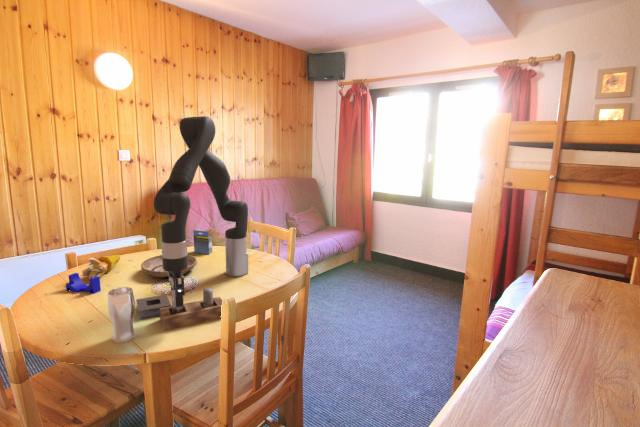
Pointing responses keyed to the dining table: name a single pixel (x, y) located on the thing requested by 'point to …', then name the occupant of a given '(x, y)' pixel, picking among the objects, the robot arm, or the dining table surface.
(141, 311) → the socket block
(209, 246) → the label tape cartridge
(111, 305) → the beer glass
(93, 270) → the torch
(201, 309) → the rack
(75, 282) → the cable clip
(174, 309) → the round metal peg
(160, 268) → the ceramic bowl
